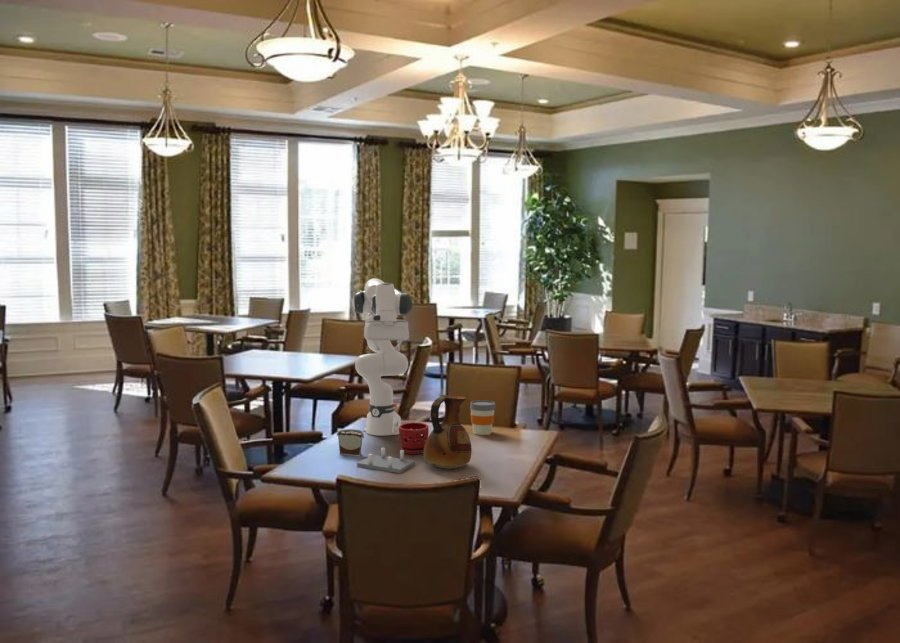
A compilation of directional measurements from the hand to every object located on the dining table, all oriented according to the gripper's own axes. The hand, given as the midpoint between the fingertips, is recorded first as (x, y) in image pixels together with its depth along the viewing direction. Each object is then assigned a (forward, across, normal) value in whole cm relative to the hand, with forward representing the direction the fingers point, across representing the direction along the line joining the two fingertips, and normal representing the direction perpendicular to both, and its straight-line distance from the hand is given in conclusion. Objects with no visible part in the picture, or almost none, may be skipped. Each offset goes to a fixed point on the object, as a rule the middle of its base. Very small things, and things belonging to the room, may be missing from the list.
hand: (387, 350), depth 335 cm
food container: (+43, +10, -20) cm, 49 cm away
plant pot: (+44, -16, -11) cm, 48 cm away
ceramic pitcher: (+50, -19, +14) cm, 56 cm away
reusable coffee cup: (+37, -62, -27) cm, 77 cm away
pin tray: (+49, +4, +3) cm, 49 cm away
